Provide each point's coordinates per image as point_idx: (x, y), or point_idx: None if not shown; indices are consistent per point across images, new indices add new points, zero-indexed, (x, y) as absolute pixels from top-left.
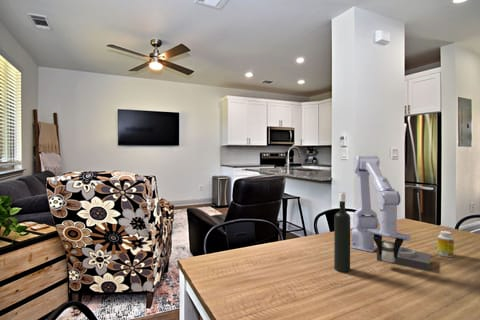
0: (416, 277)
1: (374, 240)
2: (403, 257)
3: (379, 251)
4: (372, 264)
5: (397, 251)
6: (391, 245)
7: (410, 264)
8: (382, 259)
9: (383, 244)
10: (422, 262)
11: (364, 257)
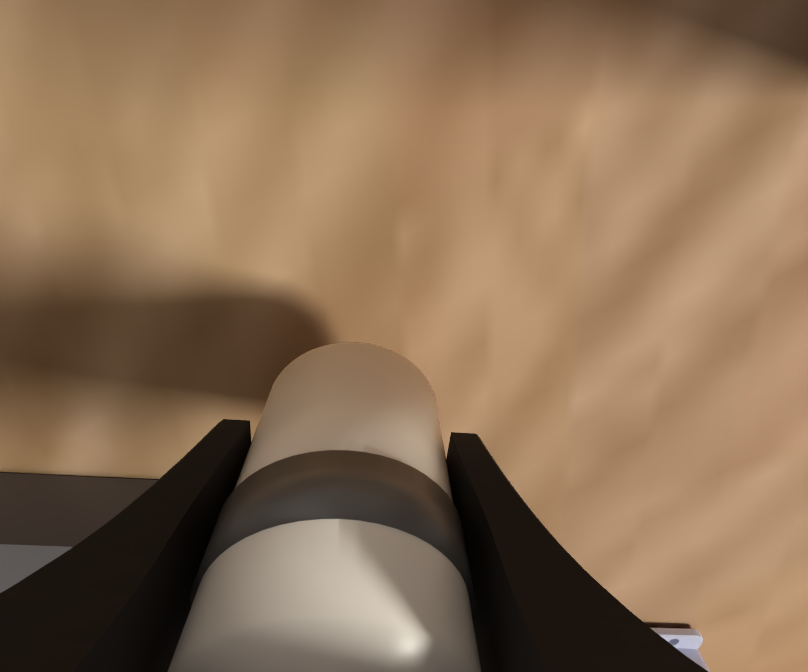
0: (38, 253)
1: (698, 665)
2: None
3: (485, 466)
4: (523, 367)
5: (142, 497)
6: (228, 604)
7: None
8: (423, 380)
9: (430, 596)
10: (5, 540)
11: (595, 497)
